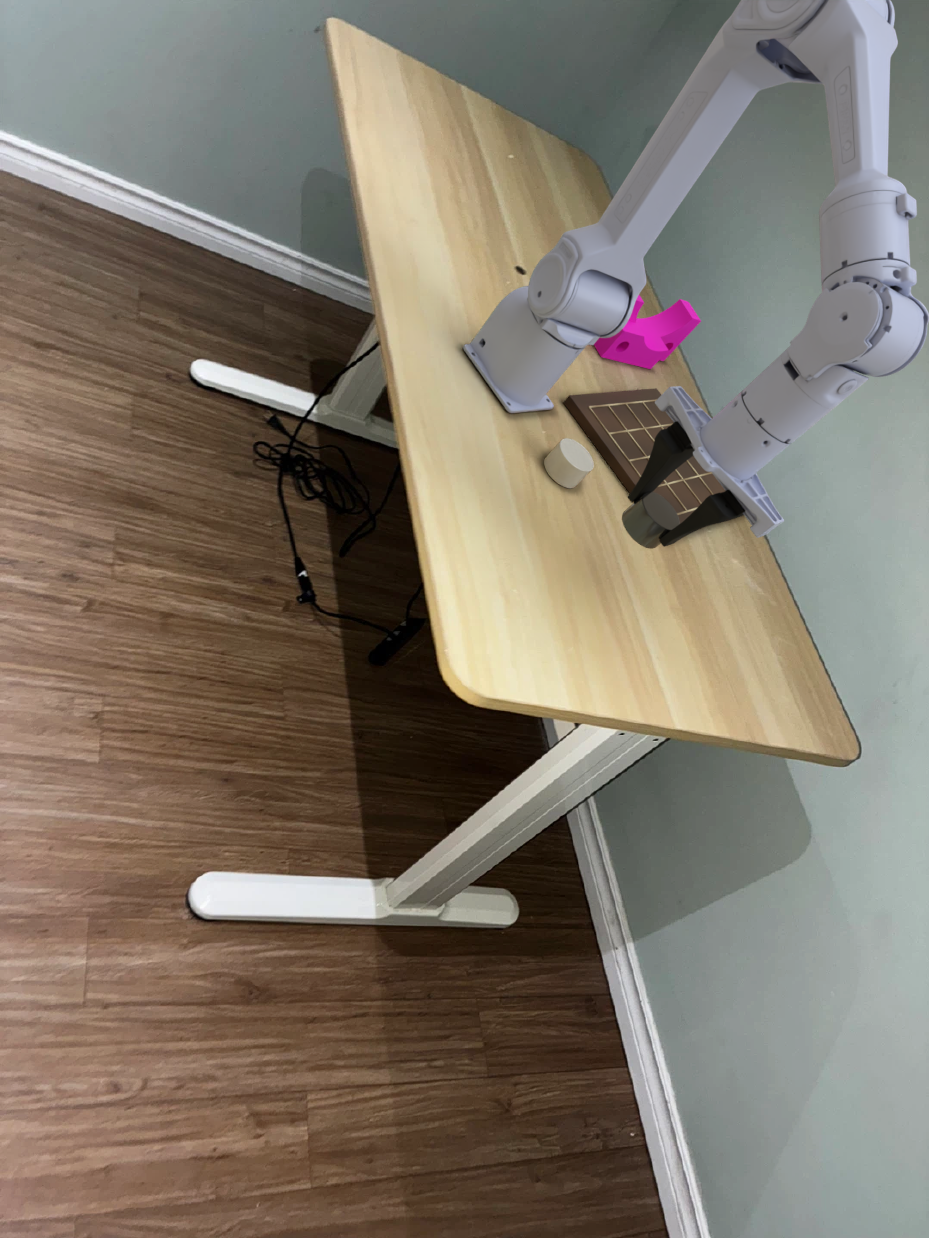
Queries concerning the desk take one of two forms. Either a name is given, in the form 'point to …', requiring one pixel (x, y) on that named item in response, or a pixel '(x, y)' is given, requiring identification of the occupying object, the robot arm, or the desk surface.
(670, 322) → the toy block
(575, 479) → the white stone
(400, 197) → the desk surface
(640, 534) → the black stone
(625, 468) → the board
